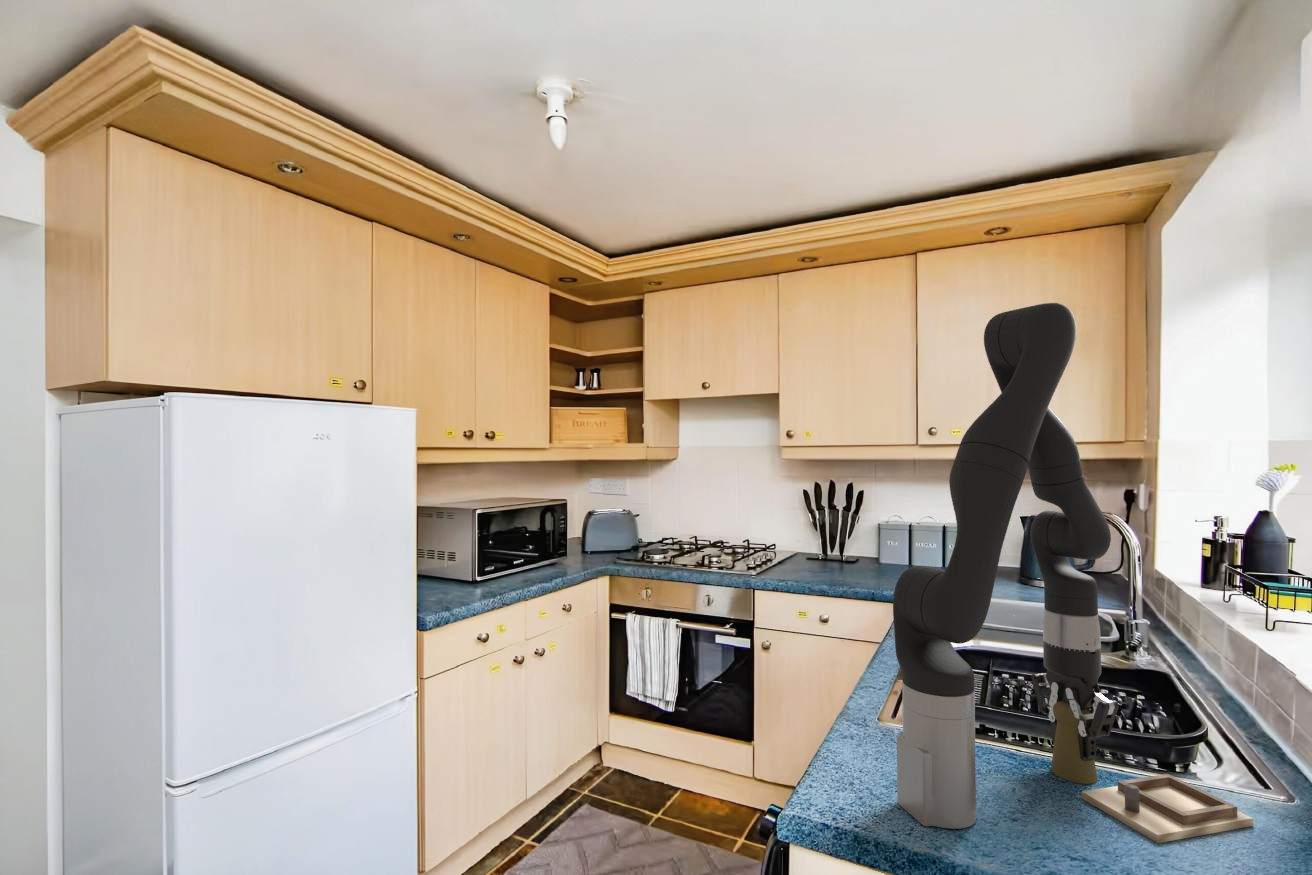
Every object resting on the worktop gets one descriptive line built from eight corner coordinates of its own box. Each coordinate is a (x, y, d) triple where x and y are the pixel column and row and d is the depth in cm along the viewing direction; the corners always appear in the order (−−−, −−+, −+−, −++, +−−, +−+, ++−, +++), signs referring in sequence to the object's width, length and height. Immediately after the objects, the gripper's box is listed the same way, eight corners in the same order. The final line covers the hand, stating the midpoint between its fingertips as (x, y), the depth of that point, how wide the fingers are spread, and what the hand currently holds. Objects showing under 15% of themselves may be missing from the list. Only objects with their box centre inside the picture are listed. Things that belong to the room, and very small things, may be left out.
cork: (1079, 764, 102) (1078, 694, 103) (1107, 783, 96) (1105, 708, 97) (1042, 764, 102) (1040, 694, 103) (1067, 784, 96) (1066, 709, 97)
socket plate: (1158, 842, 82) (1157, 810, 82) (1081, 798, 92) (1081, 769, 92) (1253, 825, 85) (1252, 794, 86) (1169, 784, 96) (1168, 757, 96)
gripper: (1015, 630, 106) (1017, 736, 105) (1092, 656, 92) (1095, 778, 92) (1052, 627, 108) (1054, 731, 107) (1134, 652, 94) (1137, 772, 93)
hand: (1073, 752), depth 99 cm, fingers closed on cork, 4 cm apart
